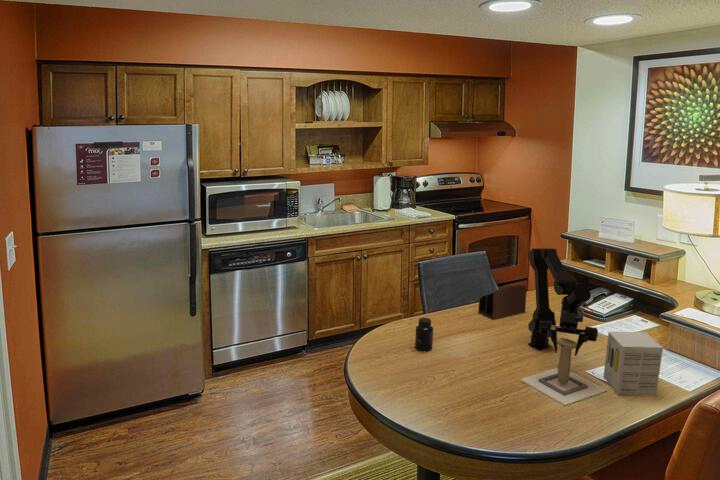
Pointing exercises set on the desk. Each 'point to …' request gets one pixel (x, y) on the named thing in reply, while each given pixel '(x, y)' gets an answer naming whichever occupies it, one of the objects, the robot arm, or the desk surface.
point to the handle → (565, 359)
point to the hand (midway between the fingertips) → (565, 354)
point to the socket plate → (562, 386)
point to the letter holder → (503, 302)
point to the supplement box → (633, 363)
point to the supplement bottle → (424, 335)
